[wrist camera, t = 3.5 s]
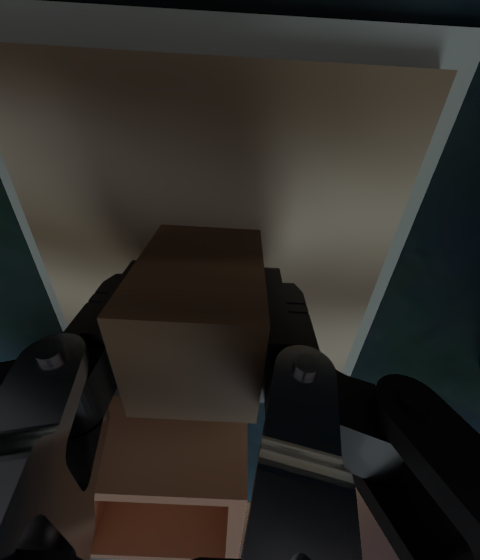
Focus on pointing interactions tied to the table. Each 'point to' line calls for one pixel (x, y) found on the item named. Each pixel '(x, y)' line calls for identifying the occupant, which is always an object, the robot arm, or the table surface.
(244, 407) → the lid
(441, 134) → the tray
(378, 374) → the table surface
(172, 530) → the open square box
